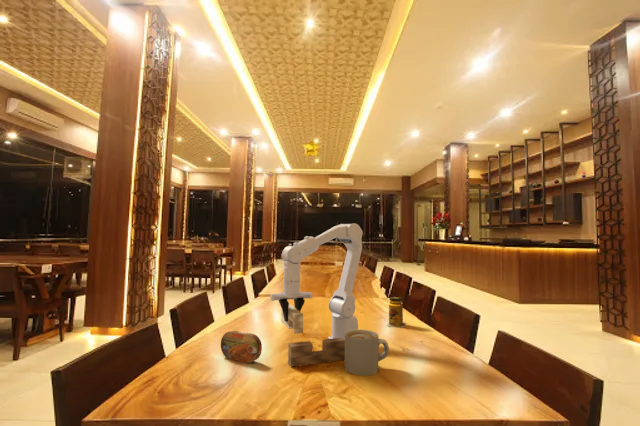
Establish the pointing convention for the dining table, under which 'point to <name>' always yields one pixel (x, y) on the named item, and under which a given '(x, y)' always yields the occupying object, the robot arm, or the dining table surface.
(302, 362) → the walnut slotted plate
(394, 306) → the condiment
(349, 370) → the coffee mug
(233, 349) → the tin
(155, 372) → the dining table surface
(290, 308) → the ash notched plate
